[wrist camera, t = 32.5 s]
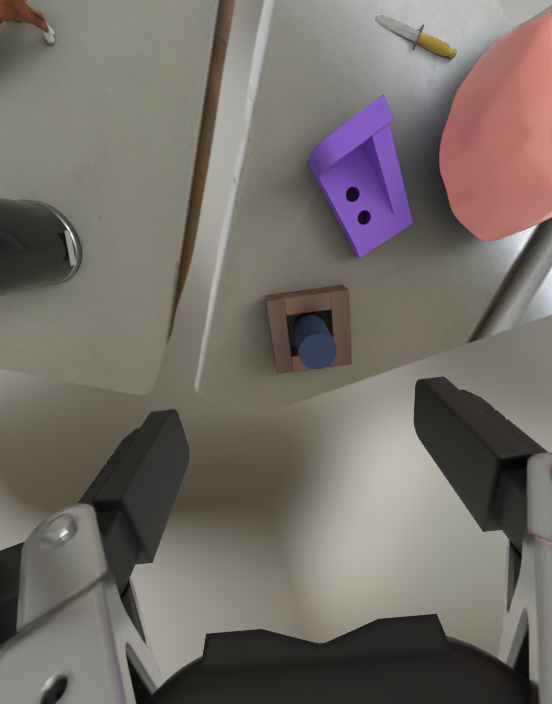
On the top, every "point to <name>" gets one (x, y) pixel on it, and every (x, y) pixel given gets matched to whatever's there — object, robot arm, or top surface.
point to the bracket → (363, 178)
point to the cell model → (503, 135)
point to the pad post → (314, 341)
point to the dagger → (417, 36)
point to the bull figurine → (25, 16)
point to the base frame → (306, 302)
